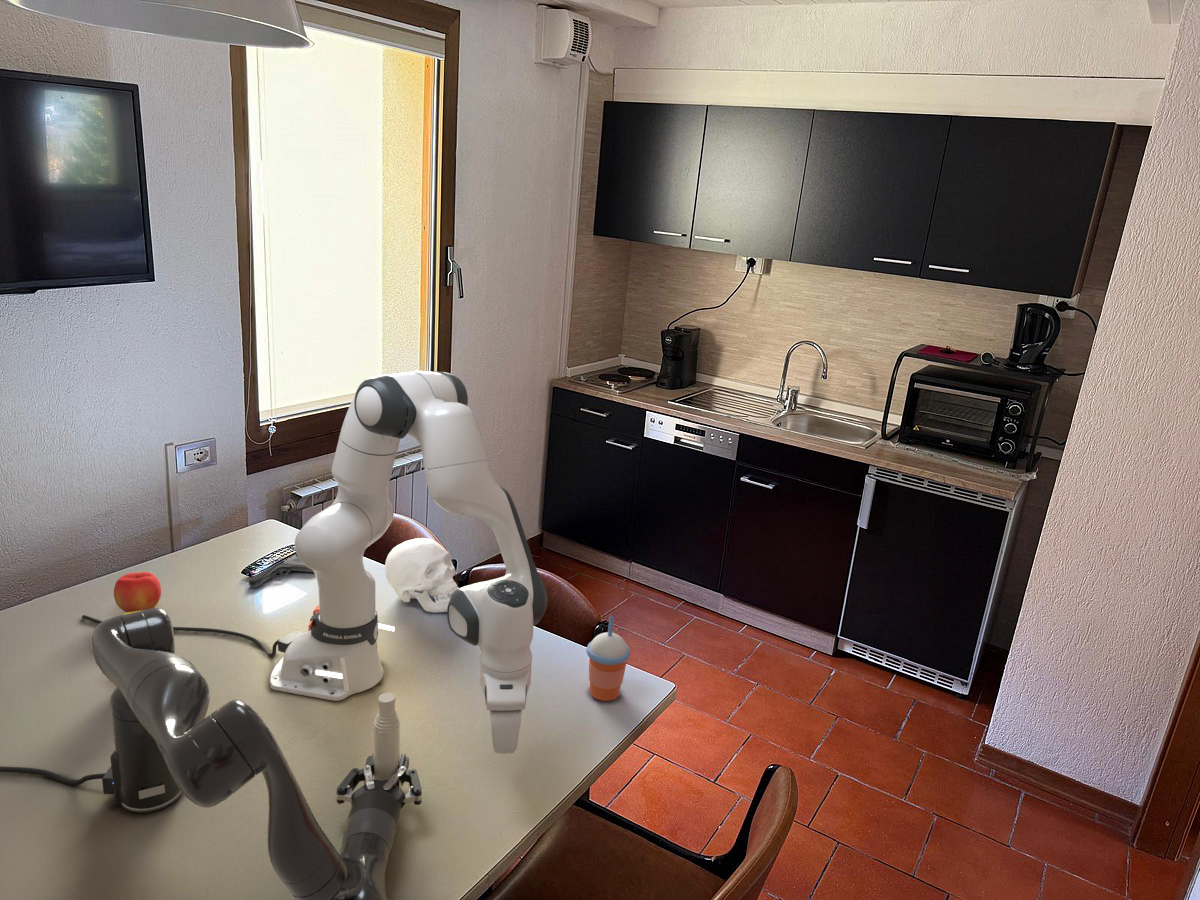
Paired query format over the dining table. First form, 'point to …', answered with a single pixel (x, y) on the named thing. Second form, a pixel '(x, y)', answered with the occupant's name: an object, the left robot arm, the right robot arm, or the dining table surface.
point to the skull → (421, 573)
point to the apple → (137, 591)
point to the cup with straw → (607, 664)
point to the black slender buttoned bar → (279, 571)
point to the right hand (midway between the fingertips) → (503, 742)
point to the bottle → (386, 738)
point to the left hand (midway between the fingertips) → (389, 757)
